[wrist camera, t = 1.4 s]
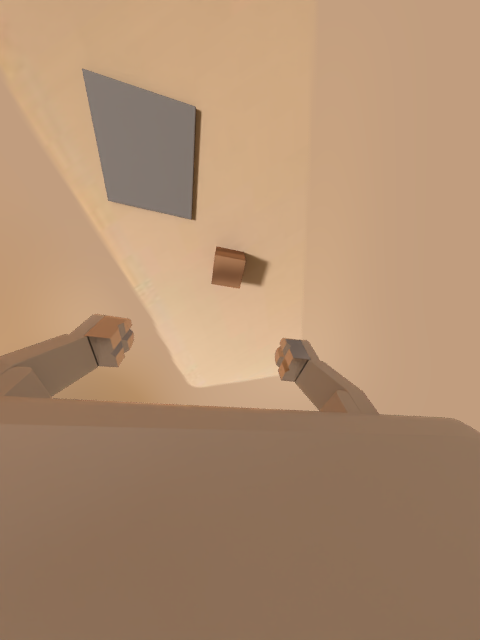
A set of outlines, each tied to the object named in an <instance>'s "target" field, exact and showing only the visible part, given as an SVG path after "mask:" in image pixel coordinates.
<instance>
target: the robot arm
mask: <svg viewBox="0 0 480 640" xmlns="http://www.w3.org/2000/svg"><path fill="white" fill-rule="evenodd" d="M131 326H132V324H131V320H130V319H128V318H121V317H114V316H106V315H100V314H94V315H92V316H90V317H89V318H88V319H87V320H86V321H85V322H83V323H82V324H81V325H80V326H79V327H77V328H76V329H75V330H74V331H73V332H71V333H70V334H69V335H68V334H64V335H61V336H58V337H55V338H52V339H49V340H46V341H44V342H41V343H38V344H35V345H32V346H29V347H26V348H23V349H20V350H17V351H14V352H11V353H8V354H5V355H3V356H0V640H480V433H479V432H478V431H476V430H475V429H473V428H472V427H470V426H468V425H466V424H464V423H463V422H461V421H458V420H456V419H452V418H445V417H444V418H443V417H421V416H401V415H381V414H379V413H378V412H377V410H376V409H375V408H374V406H373V405H372V403H371V402H370V400H369V399H368V398H367V396H366V395H365V393H364V392H363V391H362V390H360V389H359V388H358V387H356V386H355V385H354V384H352V383H351V382H350V381H348V380H347V379H346V378H344V377H343V376H342V375H340V374H339V373H338V372H336V371H335V370H334V369H332V368H331V367H330V366H328V365H327V364H326V363H324V362H323V361H320V360H319V358H318V356H317V355H316V353H315V351H314V350H313V348H312V346H311V344H310V343H309V342H308V341H307V340H295V339H287V338H282V339H281V341H280V347H279V348H277V350H276V352H275V362H276V365H277V366H278V367H279V369H278V372H279V375H280V378H281V380H284V381H293V382H295V383H296V384H297V385H298V386H299V388H300V389H301V390H302V391H303V392H304V394H305V395H306V396H307V397H308V398H309V399H310V400H311V402H312V403H313V404H314V405H315V406H316V407H317V408H318V410H319V411H299V410H280V409H259V408H237V407H218V406H198V405H178V404H157V403H137V402H117V401H95V400H76V399H75V400H74V399H55V398H52V396H54V395H55V394H56V393H58V392H60V391H61V390H63V389H64V388H66V387H68V386H69V385H71V384H72V383H74V382H75V381H77V380H78V379H80V378H82V377H83V376H85V375H86V374H88V373H89V372H91V371H93V370H94V369H96V368H97V367H98V366H107V367H119V365H120V364H121V362H122V360H123V359H124V357H125V355H124V353H125V352H127V351H128V350H130V348H131V346H132V344H133V341H134V334H133V332H132V331H131V330H130V328H131Z"/></svg>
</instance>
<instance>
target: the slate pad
mask: <svg viewBox="0 0 480 640" xmlns="http://www.w3.org/2000/svg"><path fill="white" fill-rule="evenodd" d="M82 71H83V76H84V81H85V86H86V91H87V96H88V101H89V106H90V111H91V116H92V121H93V126H94V131H95V136H96V141H97V146H98V151H99V157H100V162H101V167H102V172H103V177H104V182H105V187H106V192H107V197H108V201H112V202H116V203H121V204H125V205H130V206H134V207H138V208H143V209H147V210H152V211H156V212H161V213H165V214H170V215H174V216H178V217H183V218H187V219H192V199H193V174H194V148H195V123H196V107H195V106H192V105H189V104H186V103H183V102H180V101H177V100H174V99H171V98H168V97H165V96H162V95H159V94H156V93H153V92H150V91H147V90H144V89H142V88H139V87H136V86H133V85H130V84H127V83H124V82H121V81H118V80H115V79H112V78H109V77H106V76H103V75H100V74H97V73H94V72H91V71H88V70H85V69H82Z"/></svg>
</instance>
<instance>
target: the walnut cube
mask: <svg viewBox="0 0 480 640" xmlns="http://www.w3.org/2000/svg"><path fill="white" fill-rule="evenodd" d="M245 263H246V259H245V256H244V252H240V251H236V250H231V249H226V248H221V247H216V252H215V259H214V267H213V276H212V284H215V285H221V286H227V287H233V288H240V285H241V280H242V276H243V271H244V267H245Z"/></svg>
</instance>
